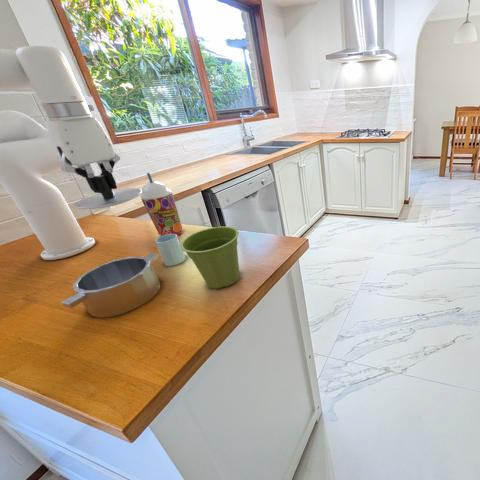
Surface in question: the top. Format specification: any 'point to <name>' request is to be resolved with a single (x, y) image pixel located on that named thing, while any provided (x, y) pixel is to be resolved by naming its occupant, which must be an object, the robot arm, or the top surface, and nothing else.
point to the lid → (107, 196)
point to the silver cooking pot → (116, 286)
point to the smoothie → (161, 207)
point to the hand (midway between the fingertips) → (105, 189)
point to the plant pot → (214, 255)
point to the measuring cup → (170, 249)
